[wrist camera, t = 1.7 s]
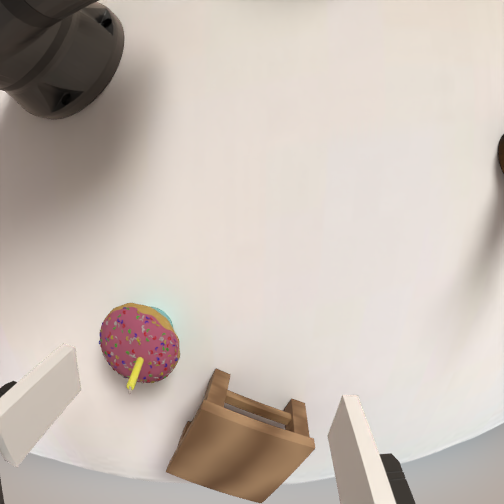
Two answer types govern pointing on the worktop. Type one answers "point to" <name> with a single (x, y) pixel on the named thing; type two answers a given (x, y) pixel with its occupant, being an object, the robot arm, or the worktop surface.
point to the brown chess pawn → (501, 152)
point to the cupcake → (139, 343)
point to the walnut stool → (241, 444)
